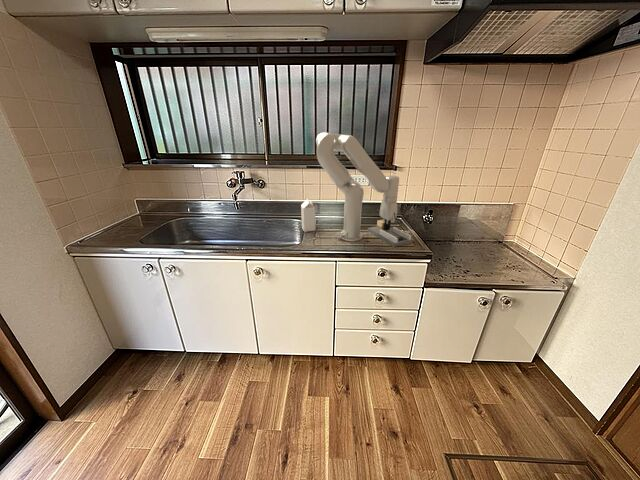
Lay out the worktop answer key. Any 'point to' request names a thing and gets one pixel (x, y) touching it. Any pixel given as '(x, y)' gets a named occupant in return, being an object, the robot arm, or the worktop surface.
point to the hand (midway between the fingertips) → (386, 229)
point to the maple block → (380, 224)
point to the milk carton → (308, 216)
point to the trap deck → (392, 236)
